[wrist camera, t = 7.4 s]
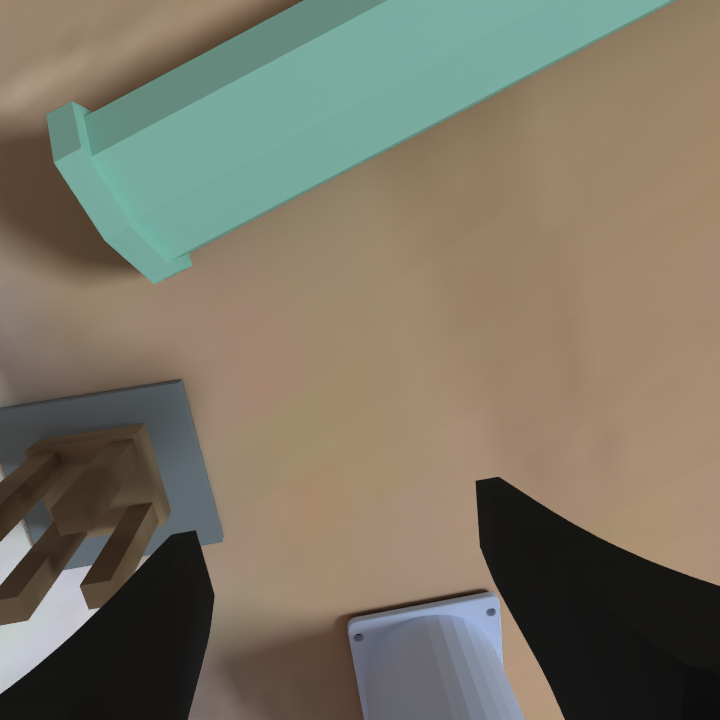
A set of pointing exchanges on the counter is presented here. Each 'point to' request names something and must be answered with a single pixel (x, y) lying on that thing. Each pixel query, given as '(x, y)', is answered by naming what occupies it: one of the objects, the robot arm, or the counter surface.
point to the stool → (82, 512)
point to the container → (300, 109)
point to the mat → (112, 410)
